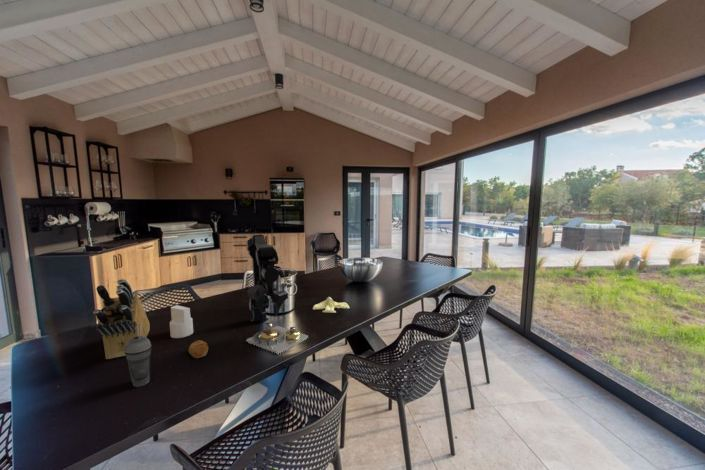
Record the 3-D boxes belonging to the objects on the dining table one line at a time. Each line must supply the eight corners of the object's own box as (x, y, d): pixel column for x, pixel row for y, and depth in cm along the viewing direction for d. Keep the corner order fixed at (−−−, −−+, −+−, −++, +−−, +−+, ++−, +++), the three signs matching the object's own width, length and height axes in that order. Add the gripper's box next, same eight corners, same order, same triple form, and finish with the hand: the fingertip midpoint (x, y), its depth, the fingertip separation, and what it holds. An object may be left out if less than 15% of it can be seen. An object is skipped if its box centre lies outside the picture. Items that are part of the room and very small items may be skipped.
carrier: (246, 342, 130) (246, 330, 129) (277, 328, 144) (277, 317, 143) (278, 354, 119) (277, 341, 118) (308, 338, 133) (307, 326, 132)
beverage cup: (136, 376, 105) (131, 320, 102) (159, 375, 105) (154, 319, 103) (122, 390, 97) (116, 329, 95) (146, 388, 98) (141, 328, 96)
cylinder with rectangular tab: (197, 331, 141) (196, 305, 139) (179, 339, 133) (177, 312, 131) (184, 328, 145) (182, 303, 143) (165, 335, 136) (163, 309, 135)
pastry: (211, 355, 119) (210, 346, 119) (192, 361, 115) (191, 351, 115) (206, 346, 126) (205, 337, 126) (187, 351, 123) (187, 342, 122)
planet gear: (256, 338, 130) (256, 324, 130) (269, 332, 136) (269, 319, 135) (268, 342, 126) (267, 328, 126) (280, 336, 132) (280, 322, 131)
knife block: (96, 373, 107) (86, 286, 103) (121, 334, 138) (114, 266, 135) (135, 366, 112) (127, 282, 108) (150, 329, 143) (145, 263, 140)
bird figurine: (354, 306, 174) (354, 295, 173) (333, 316, 159) (333, 305, 158) (325, 299, 187) (324, 289, 186) (302, 308, 172) (302, 297, 171)
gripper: (236, 278, 127) (237, 314, 129) (266, 284, 116) (268, 324, 118) (258, 272, 136) (259, 307, 138) (288, 278, 126) (289, 315, 127)
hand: (268, 313), depth 130 cm, fingers open, 9 cm apart
